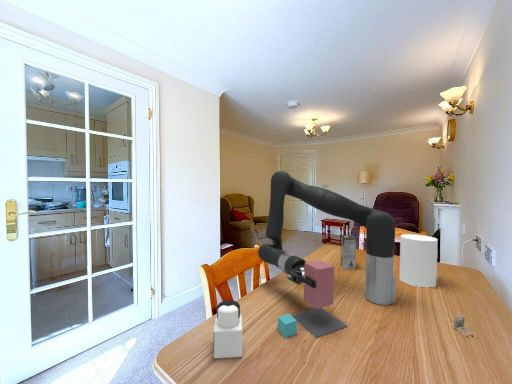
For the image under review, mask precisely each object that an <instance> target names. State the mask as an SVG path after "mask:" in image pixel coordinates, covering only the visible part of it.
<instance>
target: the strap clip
mask: <svg viewBox="0 0 512 384" xmlns="http://www.w3.org/2000/svg"><path fill="white" fill-rule="evenodd" d="M465 320H466V319H465V317H464V316H462V315H456V316H455V318H454V321H453V322H454V327H455V328H457V327H458V328H459V327H463V328H461V329H457V331H458V330H460V331H462V332H463V333H465V334H466V333H467V331H468V330H469V329H468V328H465V327H464V326H465V322H466V321H465ZM455 328H454V329H455ZM469 331H471V330H469ZM471 332H472V333H474V332H473V331H471ZM466 335H467V334H466Z"/></svg>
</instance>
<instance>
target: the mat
mask: <svg viewBox="0 0 512 384" xmlns="http://www.w3.org/2000/svg"><path fill="white" fill-rule="evenodd" d="M291 316H292V317H293V318H295V319H296V320H297V323H299V324H300V325H301V326H303V327H304V328H305V329H306V330H307V331H308V332H310V333H311V334H312V336H314V338H317V339H318V338H321V337H323V336H326V335H330V334H331V333H334V332H336V331H339V330H343V329H344V328H348V325H347V324H346V323H344V322H343V321H341V320H340V319H339V318H337V317H336V316H335V315H333V314H332V313H330V312H328V310H325V309H324V307H323V308H319V309H316V308H315V307H314V308H313V309H308V310H305V311H302V312H299V313H295V314H292V315H291Z"/></svg>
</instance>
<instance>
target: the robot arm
mask: <svg viewBox="0 0 512 384" xmlns="http://www.w3.org/2000/svg"><path fill="white" fill-rule="evenodd" d="M286 196H291V197H293V198H295V199H298V200H300V201H301V202H304V203H306V204H307V205H309V206H311V207H313V208H314V209H317V210H318V211H321V212H323V213H326V214H327V215H331V216H334V217H337V218H341V219H346V220H349V221H352V222H353V223H354V222H355V223H356V224H358V225H361V226H363V227H365V230H366V231H365V238H366V239H365V288H364V294H365V295H364V296H365V298H366V300H367V301H369V302H371V303H373V304H377V305H382V306H389V305H392V304H396V289H397V288H396V286H397V285H396V282H397V281H396V280H397V279H396V276H394V265H395V263H394V261H395V249H396V248H395V245H396V244H395V243H396V222H395V220H394V218H393V217H392V216H391V215H390V214H389V213H388V212H386V211H383V210H379V209H375V208H372V207H368V206H365V205H362V204H360V203H357V202H355V201H354V200H352V199H350V198H348V197H345V195H342V194H339V193H337V192H334V191H332V190H329V189H327V188H324V187H319V186H315V185H311V184H307V183H304V182H302V181H300V180H298V179H295V178H294V177H292V176H291V175H290V174H289V173H288V172H286V171H284V170H277V171H276V172H274V173H273V174H272V175H271V178H270V197H269V198H270V199H269V209H268V210H269V211H268V216H267V222H266V229H265V237H266V239H269V240H271V241H272V244H270V243H269V244H268V243H264V244H262V245H260V246H259V247H258V250H257V254H258V255H257V256H258V258H259V259H260V260H261V261H262V262H264V263H267V264H270V265H272V266H274V267H277V268H278V269H279V270H281V271H282V272H283V273H284V274H286V279H288V280H290V281H291V282H293V283H295V284H296V285H298V286H299V285H301V284H303V285H304V284H307V285H308V286H310V287H312V288H316V282H315V281H314V280H313V279H311V278H309V277H307V276H306V275H305V274H304V266H305V263H306V262H307V261H306V260H305V259H304V258H302V257H300V256H298V255H296V254H294V253H290V252H288V251H285V250H284V249H283V244H282V243H283V241H282V235H283V227H284V219H285V217H284V216H285V215H284V213H285V212H284V205H285V198H286Z"/></svg>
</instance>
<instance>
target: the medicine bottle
mask: <svg viewBox="0 0 512 384" xmlns="http://www.w3.org/2000/svg"><path fill="white" fill-rule="evenodd" d="M213 326H214V327H213V358H214V359H228V358H229V359H231V358H242V357H243V315H242V314H241V306H240V303H239V302H238V301H237V300H234V299H233V300H232V299H226V300H223V301H220V302H219V303H218V304H217V306H216V316H215V321H214V325H213Z"/></svg>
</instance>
